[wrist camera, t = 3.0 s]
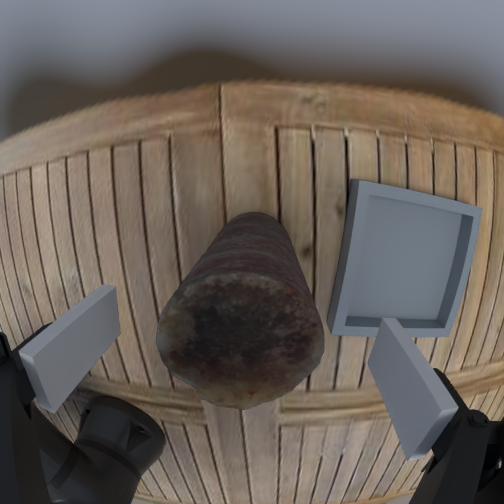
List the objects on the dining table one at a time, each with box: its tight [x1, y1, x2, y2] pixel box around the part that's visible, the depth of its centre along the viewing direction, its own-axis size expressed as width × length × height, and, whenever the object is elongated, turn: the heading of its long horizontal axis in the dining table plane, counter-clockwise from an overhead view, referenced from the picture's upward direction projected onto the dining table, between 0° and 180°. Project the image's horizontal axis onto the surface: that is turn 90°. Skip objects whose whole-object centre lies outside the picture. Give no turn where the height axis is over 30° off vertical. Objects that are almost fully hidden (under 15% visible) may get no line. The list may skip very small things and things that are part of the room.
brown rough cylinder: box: [156, 213, 324, 410], centre depth 21 cm, size 8×7×20 cm
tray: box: [327, 179, 482, 337], centre depth 29 cm, size 16×16×3 cm
